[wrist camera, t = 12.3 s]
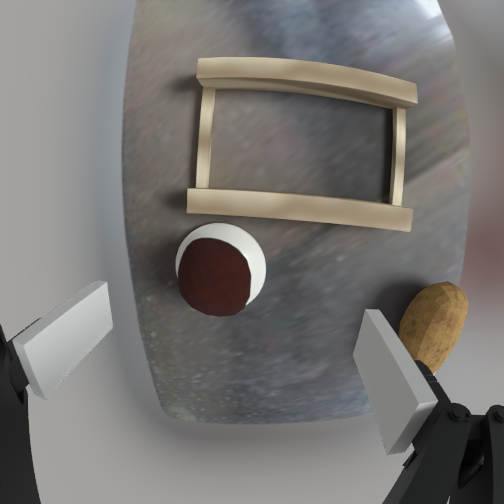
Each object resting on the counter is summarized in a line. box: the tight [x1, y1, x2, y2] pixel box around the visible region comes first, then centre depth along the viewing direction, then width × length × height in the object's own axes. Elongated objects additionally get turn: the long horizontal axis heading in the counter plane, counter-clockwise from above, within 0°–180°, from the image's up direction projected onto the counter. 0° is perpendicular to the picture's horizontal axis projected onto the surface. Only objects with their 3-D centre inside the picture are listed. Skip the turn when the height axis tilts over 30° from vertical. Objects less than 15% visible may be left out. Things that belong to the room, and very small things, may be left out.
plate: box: [176, 223, 266, 305], centre depth 34 cm, size 11×11×1 cm
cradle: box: [187, 57, 417, 232], centre depth 28 cm, size 17×24×4 cm
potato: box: [399, 282, 468, 373], centre depth 31 cm, size 10×14×8 cm
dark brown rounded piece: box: [178, 238, 251, 317], centre depth 30 cm, size 8×9×8 cm
